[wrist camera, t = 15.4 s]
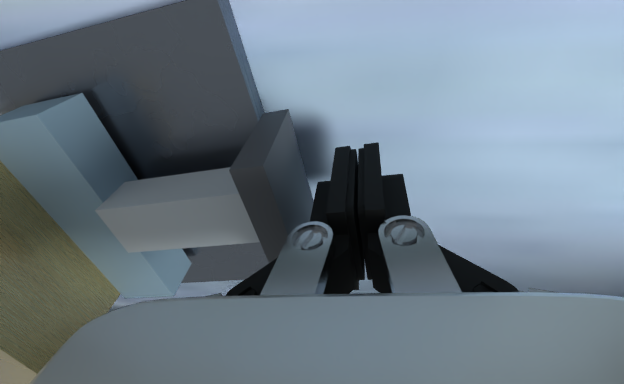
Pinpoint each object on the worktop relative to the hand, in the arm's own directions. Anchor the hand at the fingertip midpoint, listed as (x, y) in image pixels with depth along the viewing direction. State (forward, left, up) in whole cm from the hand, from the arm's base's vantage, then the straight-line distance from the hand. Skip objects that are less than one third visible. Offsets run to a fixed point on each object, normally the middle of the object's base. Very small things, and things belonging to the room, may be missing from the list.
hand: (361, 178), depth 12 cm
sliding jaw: (+8, 0, -1) cm, 8 cm away
